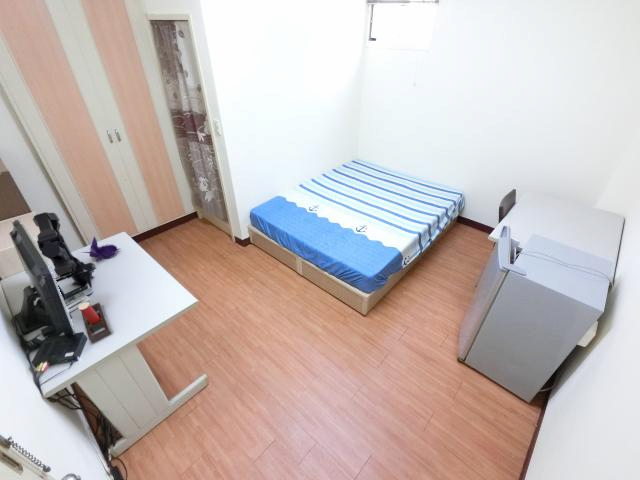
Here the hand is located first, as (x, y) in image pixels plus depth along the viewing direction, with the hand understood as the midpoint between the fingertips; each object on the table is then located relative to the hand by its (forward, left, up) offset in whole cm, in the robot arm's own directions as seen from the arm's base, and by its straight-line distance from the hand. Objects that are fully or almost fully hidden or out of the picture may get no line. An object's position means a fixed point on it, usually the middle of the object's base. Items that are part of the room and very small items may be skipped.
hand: (78, 292), depth 125 cm
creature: (-23, +36, -14) cm, 45 cm away
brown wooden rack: (+6, -5, -14) cm, 16 cm away
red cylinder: (+6, -5, -14) cm, 16 cm away
